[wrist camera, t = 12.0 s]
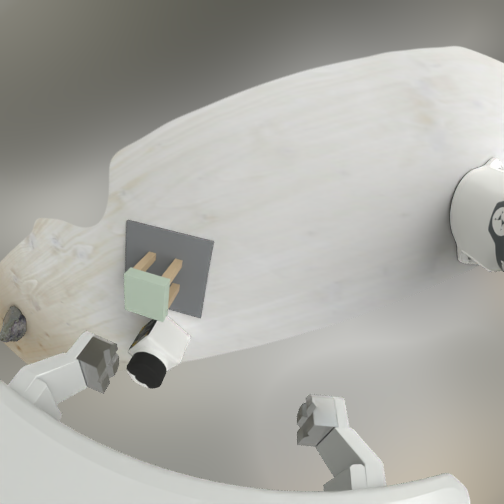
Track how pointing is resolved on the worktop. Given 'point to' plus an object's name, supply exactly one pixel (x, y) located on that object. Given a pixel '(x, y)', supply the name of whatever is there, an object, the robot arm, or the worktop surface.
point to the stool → (150, 288)
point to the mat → (168, 249)
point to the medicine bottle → (156, 352)
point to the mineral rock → (13, 325)
